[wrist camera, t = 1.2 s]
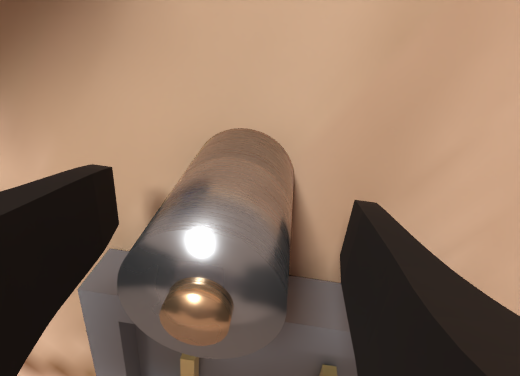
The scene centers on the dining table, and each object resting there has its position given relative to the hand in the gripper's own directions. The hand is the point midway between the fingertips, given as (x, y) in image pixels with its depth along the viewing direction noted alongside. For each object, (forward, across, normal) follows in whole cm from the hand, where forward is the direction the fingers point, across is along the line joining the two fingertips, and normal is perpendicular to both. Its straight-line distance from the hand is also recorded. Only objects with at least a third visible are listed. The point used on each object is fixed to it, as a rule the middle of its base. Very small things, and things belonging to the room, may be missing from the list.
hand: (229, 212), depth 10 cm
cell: (+2, 0, 0) cm, 3 cm away
